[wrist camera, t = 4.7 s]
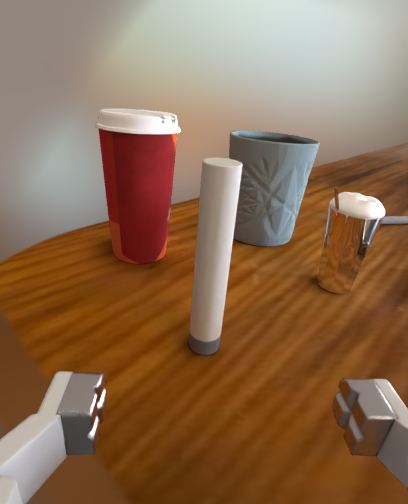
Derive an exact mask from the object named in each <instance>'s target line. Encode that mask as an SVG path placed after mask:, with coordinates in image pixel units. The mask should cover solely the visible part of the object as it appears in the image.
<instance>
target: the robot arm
mask: <svg viewBox="0 0 408 504" xmlns="http://www.w3.org/2000/svg"><path fill="white" fill-rule="evenodd" d="M105 382H106V378H105V374H104V373H90V372H63V371H58V372H57V373H56V374H55V375H54V377H53V380H52V382H51V384H50V386H49V388H48V391H47V393H46V395H45V397H44V400H43V402H42V404H41V406H40V408H39V411H38V413H37V414H32V415H30V416H29V417H28V418H27V419H25V420H24V421H23V422H22V423H20V424H19V425H18V426H17V427H16V428H14V429H13V430H12V431H10V432H9V433H8V434H6V435H5V436H4V437H3V438H1V439H0V504H26V503H27V502H28V501H29V499H30V498H31V497H32V496H33V495H34V494H35V493H36V491H37V490H38V489H39V488H40V487H41V486H42V485H43V483H44V482H45V481H46V480H47V479H48V477H49V476H50V475H51V474H52V473H53V472H54V471H55V469H56V468H57V467H58V466H59V465H60V464H61V463H62V461H63V460H64V459H65V458H66V457H67V455H73V454H74V455H76V454H95V452H96V448H97V444H98V440H99V436H100V427H99V425H100V424H101V423H102V422H103V420H104V415H105V410H106V401H107V393H106V390H105V389H104V386H105ZM338 387H339V389H340V392H339V393H338V394H336V395H335V397H334V401H333V412H334V416H335V419H336V421H337V424H338V425H339V426H341V427H342V428H343V429H344V430H345V431H344V435H343V437H344V439H345V441H346V444H347V446H348V448H349V450H350V452H351V455H359V456H377V457H376V458H377V459H378V460H379V461H380V462H381V463H382V464H383V465H384V466H385V467H386V468H387V469H388V470H389V471H390V472H391V473H392V474H393V475H394V476H395V477H396V478H397V479H398V480H399V481H400V482H401V483H402V484H403V485H404V486H405V487H406V488H407V489H408V409H407V407H406V406H405V405H404V403H403V402H402V400H401V399H400V397H399V396H398V394H397V393H396V391H395V390H394V389H393V387H392V386H391V384H390V383H389V382H388V381H387V380H386V379H346V378H343V379H342V380H341V381H340V383H339V386H338Z"/></svg>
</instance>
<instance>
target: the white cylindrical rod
mask: <svg viewBox="0 0 408 504" xmlns="http://www.w3.org/2000/svg"><path fill="white" fill-rule="evenodd" d="M241 173H242V163H241V162H239V161H237V160H233V159H227V158H206V159H204V160H203V162H202V176H201V189H200V201H199V215H198V228H197V241H196V254H195V267H194V281H193V294H192V307H191V320H190V334H189V346H190V348H191V350H192V351H194V352H195V353H197V354H200V355H210V354H213V353H215V352H216V351H217V350H218V348H219V345H220V337H221V329H222V321H223V313H224V306H225V298H226V290H227V282H228V275H229V267H230V259H231V251H232V243H233V236H234V228H235V220H236V212H237V204H238V197H239V189H240V181H241Z"/></svg>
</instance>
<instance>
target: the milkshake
mask: <svg viewBox="0 0 408 504" xmlns="http://www.w3.org/2000/svg"><path fill="white" fill-rule="evenodd" d="M384 215H385V209H384V207H383V205H382V204H381V203H380V201H379V200H377V199H376V198H373V197H370V196H364V195H361V194H359V193H349V192H343V193H340V194H338V188H337V187H334V198H333V199H332V200H331V201H330V204H329V211H328V218H327V225H326V232H325V238H324V244H323V249H322V255H321V261H320V266H319V272H318V278H317V282H318V284H319V285H320V287H321V288H323V289H325V290H327V291H329V292H332V293H338V294H344V293H349V292H350V290H351V288H352V286H353V283H354V281H355V278H356V276H357V274H358V271H359V269H360V267H361V264H362V262H363V259H364V257H365V255H366V252H367V250H368V248H369V246H370V244H371V242H372V240H373V238H374V236H375V234H376V232H377V230H378V228H379V225H380V223H381V221H382V219H383V216H384Z"/></svg>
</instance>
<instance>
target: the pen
mask: <svg viewBox="0 0 408 504" xmlns="http://www.w3.org/2000/svg"><path fill="white" fill-rule="evenodd" d="M380 224H408V216H383V219H382V221H381V223H380Z"/></svg>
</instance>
